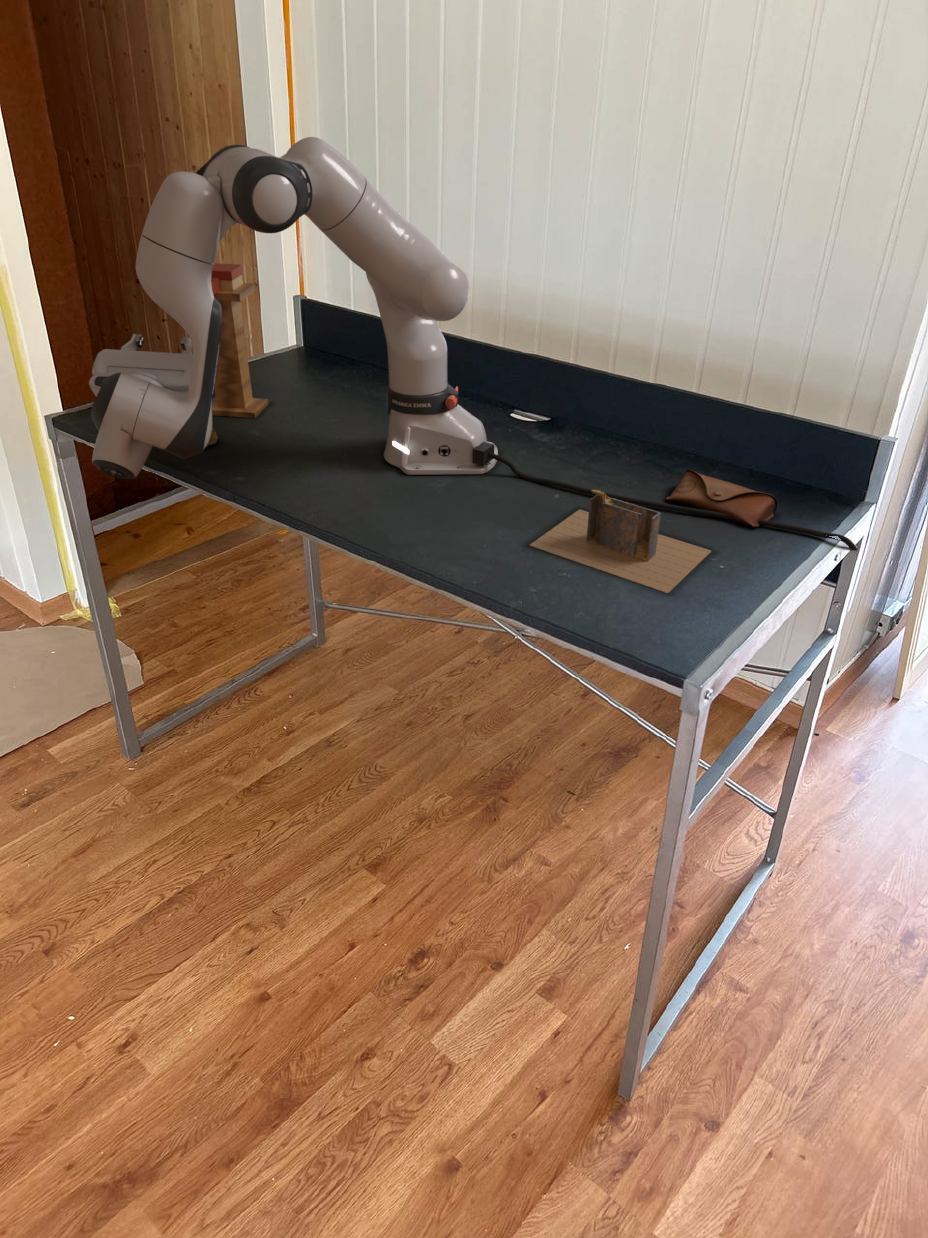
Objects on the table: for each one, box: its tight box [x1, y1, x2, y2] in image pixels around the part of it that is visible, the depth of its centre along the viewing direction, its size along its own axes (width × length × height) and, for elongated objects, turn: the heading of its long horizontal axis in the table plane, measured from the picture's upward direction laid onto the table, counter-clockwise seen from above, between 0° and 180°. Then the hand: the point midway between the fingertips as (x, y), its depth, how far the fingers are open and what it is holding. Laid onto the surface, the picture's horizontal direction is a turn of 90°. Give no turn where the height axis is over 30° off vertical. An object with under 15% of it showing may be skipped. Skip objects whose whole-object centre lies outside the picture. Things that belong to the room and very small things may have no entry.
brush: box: [211, 262, 244, 295], centre depth 183 cm, size 8×17×4 cm, turn 171°
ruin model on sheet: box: [529, 488, 712, 594], centre depth 148 cm, size 25×16×10 cm, turn 54°
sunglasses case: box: [665, 469, 778, 528], centre depth 163 cm, size 18×7×7 cm, turn 52°
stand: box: [212, 282, 269, 419], centre depth 195 cm, size 12×9×26 cm
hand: (163, 337), depth 167 cm, fingers open, 8 cm apart
